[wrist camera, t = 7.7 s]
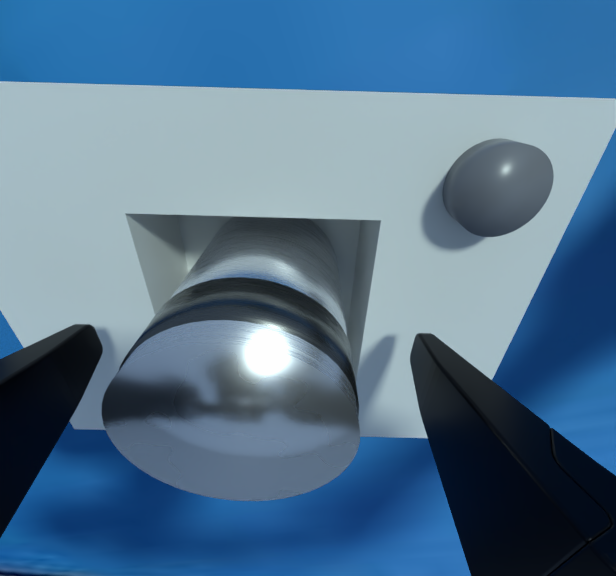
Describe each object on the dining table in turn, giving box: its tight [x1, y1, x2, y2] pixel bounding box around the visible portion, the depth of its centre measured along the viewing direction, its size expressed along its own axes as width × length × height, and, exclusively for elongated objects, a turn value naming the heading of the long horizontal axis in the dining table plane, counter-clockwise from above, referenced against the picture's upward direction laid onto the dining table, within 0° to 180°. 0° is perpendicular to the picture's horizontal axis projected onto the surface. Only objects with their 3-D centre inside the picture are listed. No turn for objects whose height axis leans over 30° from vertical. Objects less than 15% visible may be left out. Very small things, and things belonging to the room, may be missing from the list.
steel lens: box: [102, 216, 360, 501], centre depth 9 cm, size 5×5×7 cm
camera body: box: [0, 81, 616, 438], centre depth 11 cm, size 16×12×6 cm
